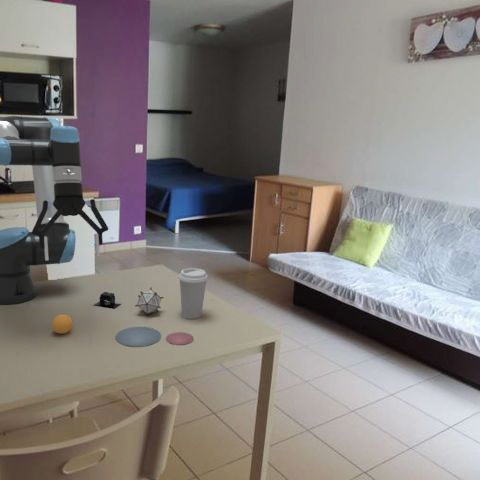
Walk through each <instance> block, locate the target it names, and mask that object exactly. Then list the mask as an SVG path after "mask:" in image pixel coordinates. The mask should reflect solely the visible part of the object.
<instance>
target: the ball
mask: <svg viewBox="0 0 480 480" xmlns="http://www.w3.org/2000/svg"><path fill="white" fill-rule="evenodd" d="M51 326H52V329H53V331H55V333H57V334H66V333H68V332H69V331H71V329H72V328H73V320H72V318H71V317H70V316H69V315H68V314H63V313H62V314H59V315H57V316H56V317H54V319H53V320H52V325H51Z"/></svg>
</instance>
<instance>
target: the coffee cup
mask: <svg viewBox="0 0 480 480" xmlns="http://www.w3.org/2000/svg"><path fill="white" fill-rule="evenodd" d="M177 279H178V280H179V288H180V289H179V290H180V304H181V305H180V306H181V316H182V318H185V319H187V320H196V319H200V318H201V317H202V314H203V307H204V299H205V293H206V292H205V291H206V285H207V281H208V280H209V276H208V274H207V273H206V270H204V269H201V268H197V267H195V268H194V267H193V268H192V267H190V268H188V267H187V268H184V269H181V272H180V273H179V274H178V277H177Z"/></svg>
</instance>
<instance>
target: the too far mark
mask: <svg viewBox="0 0 480 480" xmlns="http://www.w3.org/2000/svg"><path fill="white" fill-rule="evenodd" d="M165 341H166V342H167V343H169V344H170V345H171V344H172V345H175V346H185V345H188V344H189V345H190V343H192V342H193V341H194V336H193V335H192V334H190V333H187V332H184V331H183V332H179V331H178V332H176V331H175V332H172V333H169V334H168V335H166V336H165Z"/></svg>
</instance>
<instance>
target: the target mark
mask: <svg viewBox="0 0 480 480" xmlns="http://www.w3.org/2000/svg"><path fill="white" fill-rule="evenodd" d="M161 339H162V334H161V332H160V331H158V329H155V328H151V327H147V326H133V327H128V328H125V329H122V330H120V331H119V332H117V333H116V335H115V340H116V342H117V343H119V344H120V345H123V346H126V347H132V348H140V347H141V348H143V347H148V346H152V345H154V344H156V343H158V342H159V341H160V340H161Z"/></svg>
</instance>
